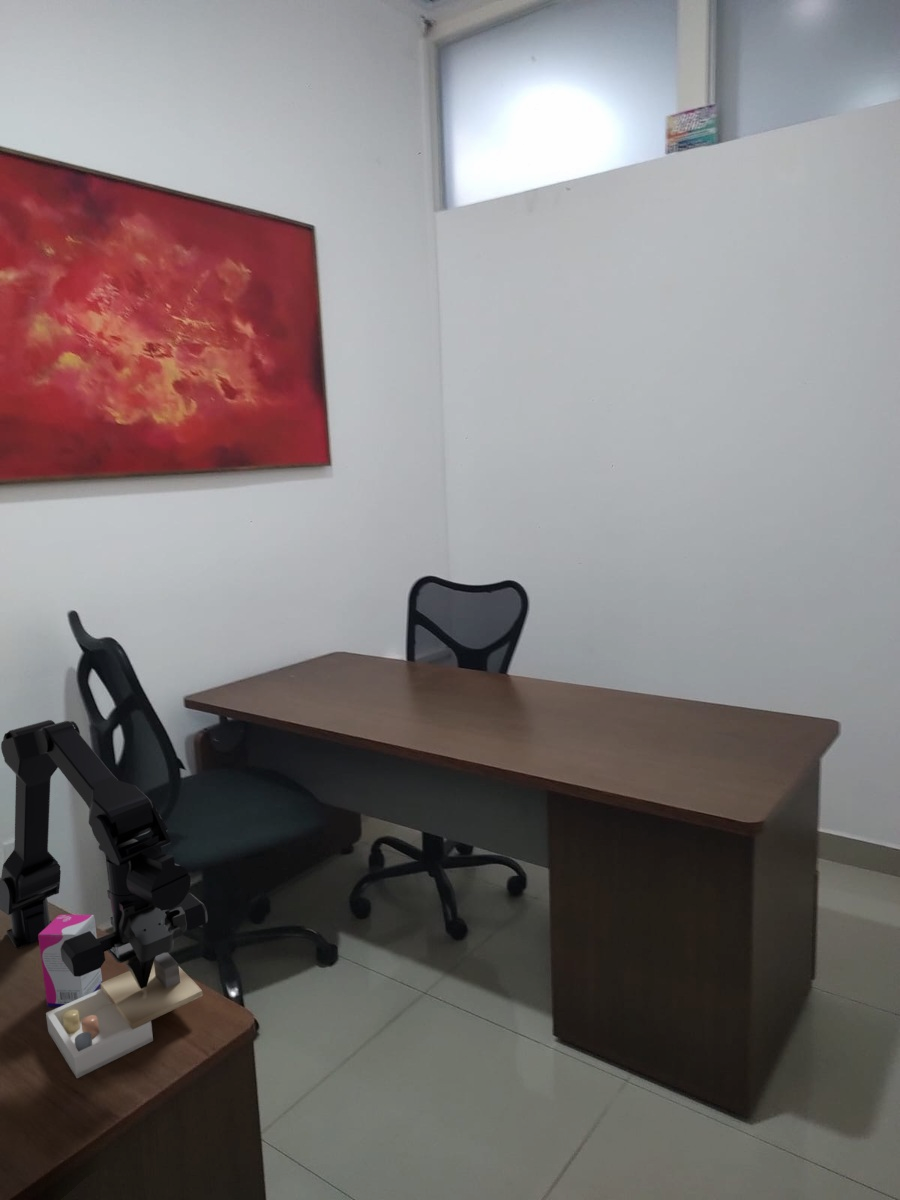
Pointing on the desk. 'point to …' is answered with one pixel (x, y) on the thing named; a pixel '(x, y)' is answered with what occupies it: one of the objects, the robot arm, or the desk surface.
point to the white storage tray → (94, 1032)
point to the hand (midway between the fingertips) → (142, 986)
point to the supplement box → (55, 972)
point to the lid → (151, 992)
